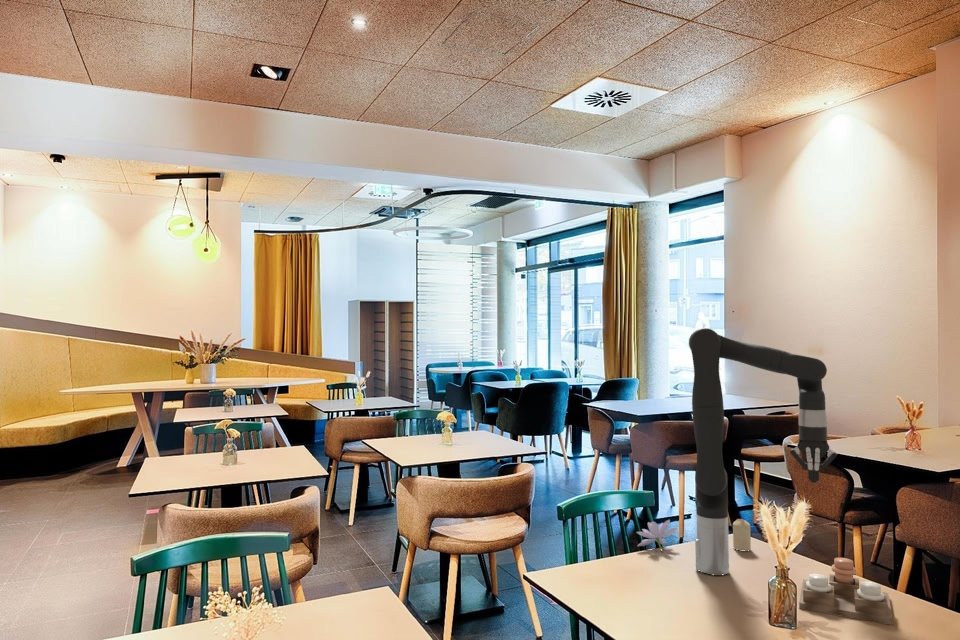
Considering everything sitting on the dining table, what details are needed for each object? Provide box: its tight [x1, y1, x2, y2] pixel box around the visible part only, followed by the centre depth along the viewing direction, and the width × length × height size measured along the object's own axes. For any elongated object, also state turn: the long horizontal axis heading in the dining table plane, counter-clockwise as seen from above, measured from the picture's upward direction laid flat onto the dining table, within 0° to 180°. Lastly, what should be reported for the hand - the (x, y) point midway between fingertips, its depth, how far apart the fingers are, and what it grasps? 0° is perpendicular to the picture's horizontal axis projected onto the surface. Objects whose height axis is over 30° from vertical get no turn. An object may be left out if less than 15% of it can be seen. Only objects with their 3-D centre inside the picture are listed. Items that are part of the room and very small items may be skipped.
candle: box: [732, 518, 752, 552], centre depth 219 cm, size 6×6×10 cm
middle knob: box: [831, 557, 857, 584], centre depth 179 cm, size 6×6×6 cm
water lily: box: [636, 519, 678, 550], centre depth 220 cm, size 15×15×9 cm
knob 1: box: [806, 573, 831, 593], centre depth 173 cm, size 6×6×6 cm
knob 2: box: [857, 581, 884, 602], centre depth 167 cm, size 6×6×6 cm
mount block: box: [798, 573, 894, 626], centre depth 174 cm, size 21×19×4 cm
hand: (814, 482), depth 192 cm, fingers closed
